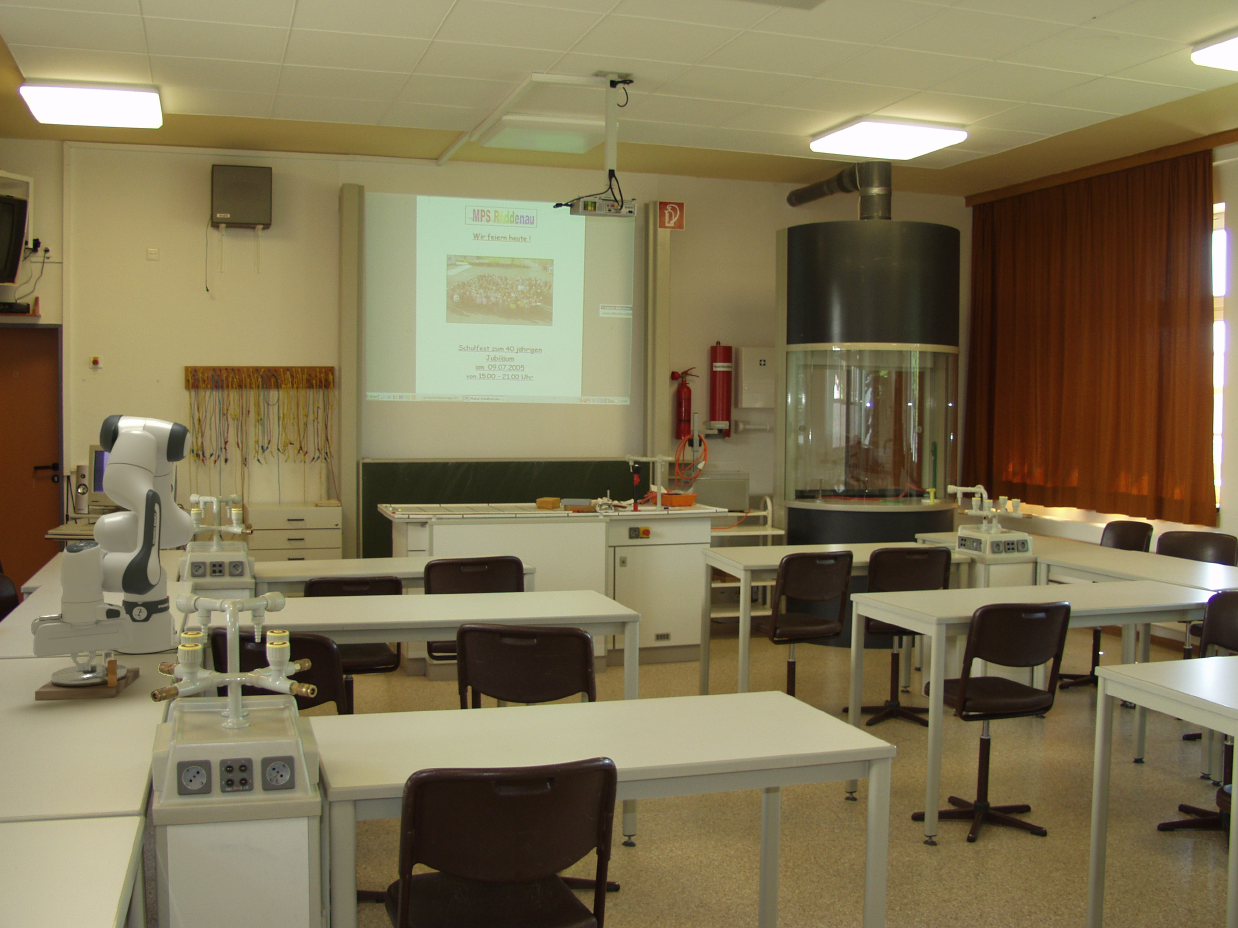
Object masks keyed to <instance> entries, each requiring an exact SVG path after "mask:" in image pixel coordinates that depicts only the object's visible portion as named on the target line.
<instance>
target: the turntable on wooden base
mask: <svg viewBox="0 0 1238 928" xmlns="http://www.w3.org/2000/svg"><path fill="white" fill-rule="evenodd" d="M107 664H108V683H105V684H99V685H91V686H76V687H70V686H59V685H55V684H53V683H52V679H51V680H50V681H48V682H47V683H45V684H44V685H42V686H41V687H40V688H38V689H36V690H35V691H34V700H35V701H41V700H42V701H44V700H66V699H67V700H71V699H72V700H73V699H102V698H115V697H116V696H118V695H119V694H120V693H122V691H123V690H125V689H126V688H127V687H128V686H129V685H131V684H132V683H133V682H134V681H135V680H136V679H137V678H138V677H140V675H141V674H140V667H126V668H127V675H126V676H125V677H124V678H122V679H120V680H117V664H118V660H117V659H114V660H109V661H107Z"/></svg>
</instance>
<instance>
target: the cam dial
mask: <svg viewBox="0 0 1238 928" xmlns="http://www.w3.org/2000/svg"><path fill="white" fill-rule="evenodd" d="M114 651H115V650H102V652H101V653H102V654H101V655H102V656H101V657H102V660H101V661H102V663H91V671H83V672H76V665H74V666H70V667H66V668H65V667H64V668H61V669H58V670H56V671H54V672H52V674H51V680H52V683H53V684H55V685H59V686H70V687H76V686H91V685H99V684H105V683H108V664H107V661H109V660H115V659H114V657H115V655H114V653H115V652H114ZM127 668H128V667H127V666H126V665H122V664H119V663H117V680H120V679H122V678H124V677H125V676H126V675H127Z"/></svg>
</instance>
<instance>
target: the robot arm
mask: <svg viewBox="0 0 1238 928" xmlns="http://www.w3.org/2000/svg"><path fill="white" fill-rule="evenodd" d="M190 433H191V432H190V430H189V428H188V427H187V425H184V424H181V423H179V422H177V421H175V422H171V421H168V420H164V419H158V418H154V417H142V416H133V415H131V416H126V415H123V414H110V415H109V416H108V417H106V418H104V420H103V422H102V423H101V426H100V428H99V431H98V440H99V445H100V446H99V447H101V449H102V450H103V451H104V452H106V453H108V454H109V456H108V460H107V462H106V464H105V466H106V467H105V469H104V473H103V477H102V488H103V491H104V494H105V495H106V496H107V497H108V498H109V499H110V501H112V502H113V503H114V504H116V505H118V506H119V507H122V508H125V509H127V510H129V511H117V512H112V513H107V514H104V515H100V517H99V518H98V519H97V520H96V522H95V523H94V527H93V532H92V534H93V539H94V540H82V541H75V542H73V543H70V544H68V545H67V546H65V547H64V550H63V551H62V557H61V564H60V584H61V587H62V594H61V598H60V613H58V614H56V613H55V614H50V615H39V616H38V617H36V618H34V619H33V620H32V622H31V625H30V626H31V627H30V630H31V634H32V635H33V641H32V644H33V645H32V653H33V655H34V656H35V657H37V658H46V657H47V658H48V657H55V656H64V655H70V659H71V660H72V661H73V663H74V665H75V666H76V672H83V671H91V664H93V662H94V660H95V658H96V657H97V652H101V651H102V652H103V651H109V650H111V651H117V652H119V653H123V654H150V653H157V652H163V651H168V650H173V649H178V648H177V642H178V636H179V634H180V633H178V630H177V629H176V619H175V617H174V616H173V615H172V613H171V611H170V607H171V606H170V603H171V602H170V595H168V573H167V570H166V569H165V568H164V566H163V565H161V558H160V556H161V555H160V554H161V553H160V551H161V550H163V549H173V548H177V547H181V546H185V545H188V544H189V543H190V541H191V540H192V539H193V536H194V533H195V523H194V520H193V518H192V517H191V515H190V514H189V513H187V511H184V509H181V507H179V506H178V505H177V503H176V502H175V500H174V496H173V494H172V475H173V474H172V471H173V463H177V462H181V461H183V460H184V459H186V457H187V455H188V453H189V452H190V449H191V445H192V438H191V434H190ZM104 593H115V594H117V593H120V594H121V593H122V594H123V599H122V602H121V605H120V604H114V603H110V602H109V603H108V602H105V596H104ZM82 653H87V654H88V656H89V657H88V659H87V661H85V662H79V660H77V659H78V658H79V654H82Z"/></svg>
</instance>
